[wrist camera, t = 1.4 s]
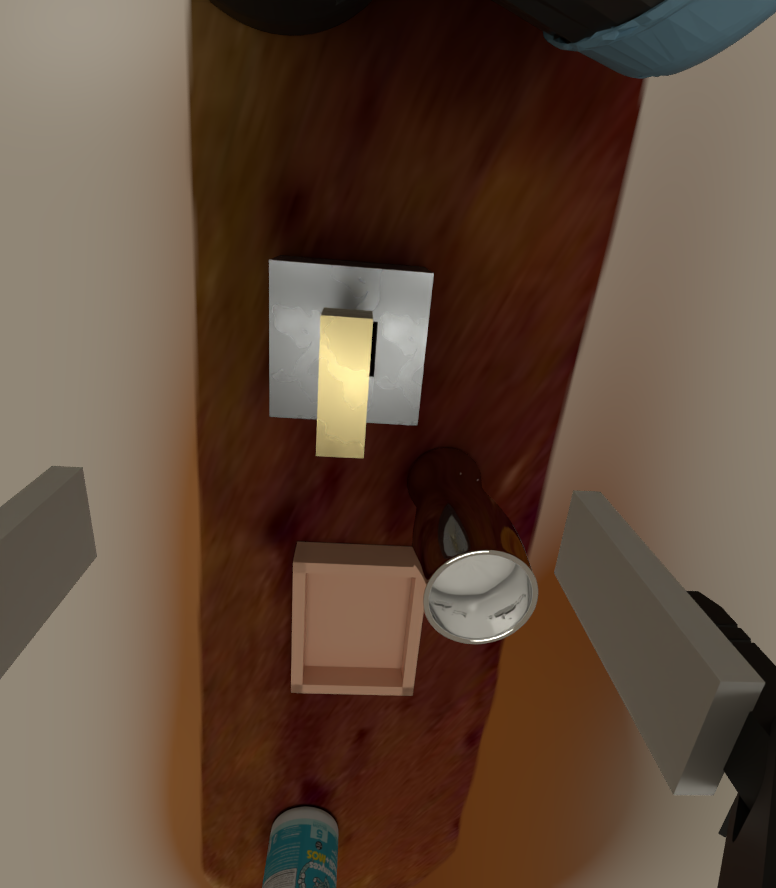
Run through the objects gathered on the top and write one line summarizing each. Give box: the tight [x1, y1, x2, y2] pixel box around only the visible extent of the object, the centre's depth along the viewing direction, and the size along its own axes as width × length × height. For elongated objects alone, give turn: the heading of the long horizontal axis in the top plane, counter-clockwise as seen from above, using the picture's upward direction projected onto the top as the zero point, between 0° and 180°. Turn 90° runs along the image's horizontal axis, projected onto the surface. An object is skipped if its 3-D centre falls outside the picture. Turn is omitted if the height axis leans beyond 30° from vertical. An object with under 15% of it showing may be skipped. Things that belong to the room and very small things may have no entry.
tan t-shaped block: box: [316, 307, 373, 458], centre depth 32 cm, size 7×2×14 cm, turn 175°
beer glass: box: [407, 447, 538, 644], centre depth 37 cm, size 7×7×15 cm
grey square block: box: [269, 255, 434, 425], centre depth 37 cm, size 10×10×5 cm
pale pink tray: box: [291, 542, 424, 696], centre depth 47 cm, size 14×11×3 cm
